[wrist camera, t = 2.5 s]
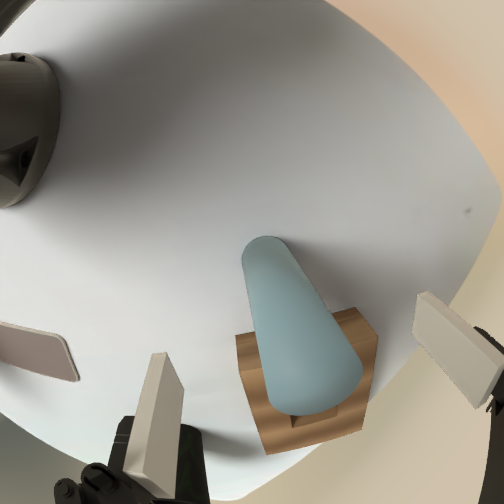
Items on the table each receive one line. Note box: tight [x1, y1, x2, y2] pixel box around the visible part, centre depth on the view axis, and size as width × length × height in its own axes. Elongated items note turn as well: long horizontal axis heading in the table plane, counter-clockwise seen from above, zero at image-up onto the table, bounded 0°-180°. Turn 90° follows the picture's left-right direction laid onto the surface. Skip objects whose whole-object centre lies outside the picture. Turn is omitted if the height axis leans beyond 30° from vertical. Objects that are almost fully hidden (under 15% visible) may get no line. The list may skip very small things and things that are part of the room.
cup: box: [150, 424, 210, 504], centre depth 25 cm, size 8×8×12 cm
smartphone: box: [0, 321, 78, 382], centre depth 24 cm, size 7×1×15 cm
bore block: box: [235, 307, 378, 455], centre depth 26 cm, size 16×12×5 cm
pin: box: [242, 236, 363, 416], centre depth 16 cm, size 4×4×14 cm
